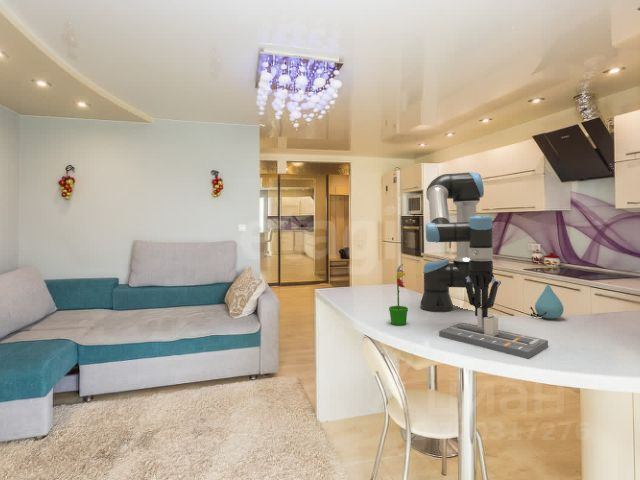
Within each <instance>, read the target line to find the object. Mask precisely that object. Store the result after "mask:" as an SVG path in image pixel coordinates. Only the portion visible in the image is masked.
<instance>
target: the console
mask: <svg viewBox="0 0 640 480" xmlns="http://www.w3.org/2000/svg"><path fill="white" fill-rule="evenodd" d="M438 334H439V335H438V336H439V337H441V338H445V339H448V340H449V339H450V340H453V341H457V342H461V343H465V344H468V345H473V346H477V347H480V348H484V349H489V350H493V351H497V352H500V353H504V354H508V355H511V354H512V355H513V356H516V357H520V358H523V359H527V360H529V359H530V358H532V357H534V356H535V355H536V354H539V353H540V352H541V351H543V350H545V349H546V348H548V347H549V340H548V339H543V338H540V337H535V336H534V337H533V336H528V335H523V334H521V333H520V334H518V333H513V332H510V331H504V330H500V329H498V335H496V336H494V337H493V336H489V335H484V327H477V325H475V324H471V323H467V322H459V323H457V324H454V325H452V326H448V327H445V328H443V329H440V330H438Z"/></svg>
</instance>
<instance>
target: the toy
mask: <svg viewBox="0 0 640 480" xmlns="http://www.w3.org/2000/svg"><path fill="white" fill-rule="evenodd" d="M534 309H535V310H534ZM530 310H532V312H531V313H530V317H536V318H543V319H547V320H554V319H560V317H562V315H563V314H564V305H563V303H562V301H561V300H560V298H559V296H557V294H556V293H555V292H554V290H553V289H552V287H551V285H550V284H549V283H547V284H546V286H545V288H544V290H543V291H542V292H541V294H540V295H539V297H538V299H537V300H536V302H535V305H534V308H533V307H532V306H530Z"/></svg>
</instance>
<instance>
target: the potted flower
mask: <svg viewBox="0 0 640 480" xmlns="http://www.w3.org/2000/svg"><path fill="white" fill-rule="evenodd" d="M403 265H404V263H401V264H400V265H399V266H397V270H396V288H397V289H396V293H397V294H396V295H397V298H396V299H397V301H396V303H397V305H391V306H389V307H388V312H389V316H390V317H389V318H390V323H391V325H394V326H405V325H406V324H407V318H408V311H409V307H407V306H405V305H400V288H405V285H404V284H405V282H404V281H403V280H402V279H401V278H402V277H404V276H405V275H406V273H405V272H404V271H403V270H402V269H401V267H402V266H403ZM399 287H400V288H399Z"/></svg>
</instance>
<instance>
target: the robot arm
mask: <svg viewBox="0 0 640 480" xmlns="http://www.w3.org/2000/svg"><path fill="white" fill-rule="evenodd" d="M425 191H426V192H425V193H426V195H425V196H426V199H427V201H428V206H429V222H428V223H426V224H425V241H426V242H428V243H456V256H455V257H454V258H453V262H449V259H448V260H447V259H437V260H431V261H427V262H425V263H424V265H423V271H422V273H423V294H422V298H421V300H420V305H419V307H420V309H421V310H424V311H428V312H436V313H437V312H438V313H439V312H440V313H442V312H444V313H445V312H450V311H453V310H454V305H453V301H452V298H451V295H450V288H465V290H466V295H467V298H468V302H469V305H470V306H472V307H474V315H475V317H476V318H477V322H476V323H477V327H484V318H485V317H487V316H489V315H488V314H489V313H488V312H489V311H488V309H489V308H492V307H494V304H495V301H496V296H497V292H498V288H499V286H500V285H501V284H502V281H501V280H497V279H496V278H495V276H494V273H493V271H494V268H493V267H494V265H493V264H494V262H493V260H492V259H494V257H493V256H494V255H493V253H494V251H493V247H494V245H493V232H494V231H493V228H494V224H493V218H492V216H490V215H477V205H478V204H479V203H480V202H481V200H480V199H481V198H483V197H484V192H485V190H484V182H483V178H482V176H481V174H480V172H473V171H472V172H470V171H468V172H458V173H445V174H440V175H439V176H436V177H435V178H434V179H433V180H432V181H431V182H430V183H429V184H428V186H427V188H426V190H425ZM448 199H450V200H451V199H452V203H453V204H454V205H455V206H456V222H451V220H450V214H449V206H448ZM490 284H491V287H490V286H489V285H490ZM489 288H490V290H489Z"/></svg>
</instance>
